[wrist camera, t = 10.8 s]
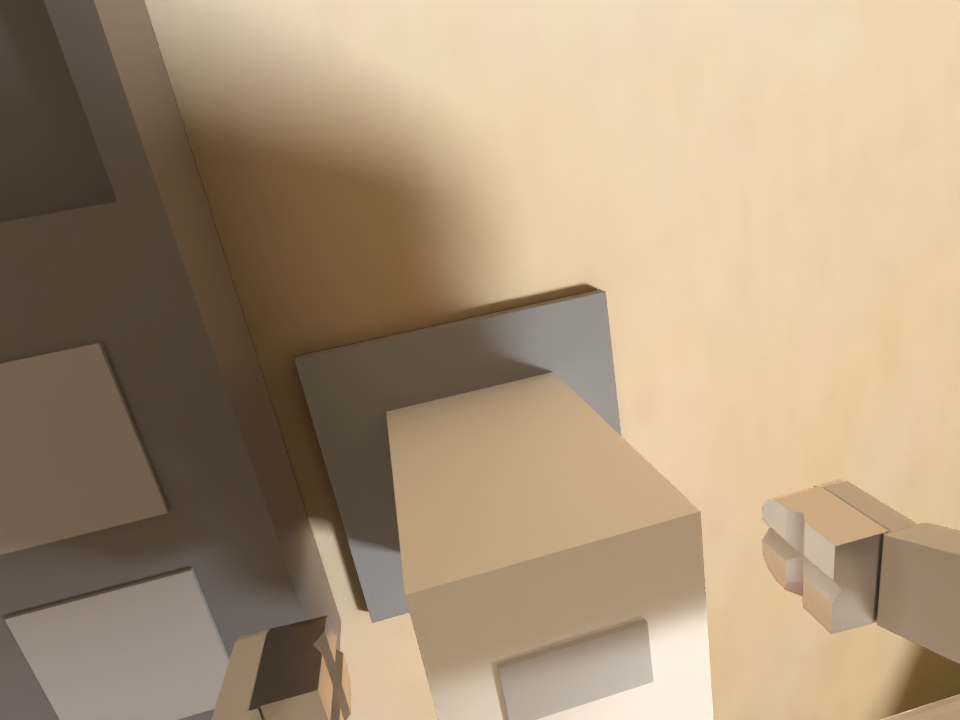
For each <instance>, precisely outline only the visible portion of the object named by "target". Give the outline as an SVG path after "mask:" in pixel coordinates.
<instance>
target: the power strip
mask: <svg viewBox="0 0 960 720" xmlns="http://www.w3.org/2000/svg"><path fill="white" fill-rule="evenodd" d="M326 615H329V616H330V617H331V618H332V620H333V623H334V626H335V629H336V632H337V640H336V649H337V650H339V651H340V632H341V620H340V617H339V614H338V611H337V608H336V605H335V602H334V598H333V595H332V592H331V589H330V586H329V583H328V579H327V576H326V573H325V570H324V567H323V564H322V561H321V557H320V554H319V551H318V548H317V545H316V542H315V538H314V535H313V532H312V529H311V526H310V523H309V520H308V516H307V513H306V510H305V507H304V504H303V501H302V497H301V494H300V491H299V488H298V485H297V482H296V479H295V475H294V472H293V469H292V466H291V463H290V460H289V456H288V453H287V450H286V447H285V444H284V441H283V437H282V434H281V431H280V428H279V425H278V422H277V419H276V415H275V412H274V409H273V406H272V403H271V400H270V396H269V393H268V390H267V387H266V384H265V381H264V378H263V374H262V371H261V368H260V365H259V362H258V359H257V355H256V352H255V349H254V346H253V343H252V340H251V337H250V333H249V330H248V327H247V324H246V321H245V318H244V314H243V311H242V308H241V305H240V302H239V299H238V296H237V292H236V289H235V286H234V283H233V280H232V277H231V273H230V270H229V267H228V264H227V261H226V258H225V255H224V251H223V248H222V245H221V242H220V239H219V236H218V232H217V229H216V226H215V223H214V220H213V217H212V214H211V210H210V207H209V204H208V201H207V198H206V195H205V191H204V188H203V185H202V182H201V179H200V176H199V173H198V169H197V166H196V163H195V160H194V157H193V154H192V150H191V147H190V144H189V141H188V138H187V135H186V132H185V128H184V125H183V122H182V119H181V116H180V113H179V109H178V106H177V103H176V100H175V97H174V94H173V90H172V87H171V84H170V81H169V78H168V75H167V72H166V68H165V65H164V62H163V59H162V56H161V53H160V49H159V46H158V43H157V40H156V37H155V34H154V31H153V27H152V24H151V21H150V18H149V15H148V12H147V8H146V5H145V2H144V0H0V720H211V719H212V716H213V713H214V709H215V706H216V703H217V699H218V696H219V693H220V689H221V686H222V683H223V680H224V676H225V673H226V670H227V666H228V663H229V660H230V657H231V653H232V650H233V647H234V644H235V642H236V641H237V640H238V639H239V638H240V637H241V636H245V635H249V634H253V633H257V632H261V631H265V630H270V629H272V628H276V627H280V626H284V625H288V624H293V623H297V622H301V621H305V620H309V619H314V618H318V617H322V616H326Z"/></svg>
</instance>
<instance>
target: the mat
mask: <svg viewBox="0 0 960 720" xmlns="http://www.w3.org/2000/svg"><path fill="white" fill-rule="evenodd" d="M295 364H296V368H297V371H298V374H299V378H300V381H301V385H302V388H303V391H304V395H305V398H306V401H307V405H308V408H309V412H310V415H311V418H312V422H313V425H314V429H315V432H316V435H317V439H318V442H319V445H320V449H321V452H322V456H323V459H324V462H325V466H326V469H327V473H328V476H329V479H330V483H331V486H332V489H333V493H334V496H335V500H336V503H337V506H338V510H339V513H340V516H341V520H342V523H343V527H344V530H345V533H346V537H347V540H348V544H349V547H350V550H351V554H352V557H353V560H354V564H355V567H356V571H357V574H358V577H359V581H360V584H361V588H362V591H363V594H364V598H365V601H366V604H367V608H368V611H369V615H370V618H371V621H372V623H374V622H377V621H381V620H384V619H388V618H391V617H395V616H398V615H402V614H405V613H409V608H408V605H407V601H406V597H405V591H404V581H403V571H402V561H401V552H400V542H399V532H398V522H397V513H396V503H395V493H394V483H393V474H392V464H391V454H390V444H389V435H388V425H387V415H386V412H387V411H392V410H396V409H400V408H404V407H408V406H412V405H417V404H421V403H425V402H429V401H433V400H438V399H442V398H446V397H450V396H454V395H459V394H463V393H467V392H471V391H475V390H479V389H484V388H488V387H492V386H496V385H500V384H505V383H509V382H513V381H517V380H521V379H525V378H530V377H534V376H538V375H542V374H546V373H551V372H554V373H555V374H556V375H557V376H558V377H559V378H561V379H562V380H563V381H564V382H565V383H566V384H567V385H568V386H569V387H570V388H571V389H572V390H573V391H574V392H575V393H576V394H577V395H578V396H579V397H581V398H582V399H583V400H584V401H585V402H586V403H587V404H588V405H589V406H590V407H591V408H592V409H593V410H594V411H595V412H596V413H597V414H598V415H599V416H601V417H602V418H603V419H604V420H605V421H606V422H607V423H608V424H609V425H610V426H611V427H612V428H613V429H614V430H615V431H616V432H617V433H618V434H619V435H621V430H620V421H619V411H618V402H617V393H616V384H615V374H614V365H613V356H612V347H611V337H610V328H609V319H608V310H607V300H606V292H605V291H602V290H600V289H599V290H594V291H590V292H585V293H581V294H576V295H572V296H567V297H563V298H558V299H554V300H549V301H545V302H540V303H536V304H531V305H527V306H522V307H518V308H513V309H509V310H504V311H499V312H495V313H490V314H486V315H481V316H477V317H472V318H468V319H463V320H459V321H454V322H450V323H445V324H441V325H436V326H432V327H427V328H423V329H418V330H414V331H409V332H405V333H400V334H396V335H391V336H386V337H382V338H377V339H373V340H368V341H364V342H359V343H355V344H350V345H346V346H341V347H337V348H332V349H328V350H323V351H319V352H314V353H310V354H305V355H301V356H296V359H295Z"/></svg>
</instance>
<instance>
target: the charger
mask: <svg viewBox="0 0 960 720" xmlns="http://www.w3.org/2000/svg"><path fill="white" fill-rule="evenodd" d="M386 415H387V425H388V435H389V444H390V454H391V464H392V474H393V483H394V493H395V503H396V513H397V522H398V532H399V542H400V552H401V561H402V571H403V581H404V591H405V597H406V601H407V605H408V608H409V612H410V616H411V619H412V623H413V627H414V631H415V634H416V638H417V642H418V646H419V649H420V653H421V657H422V661H423V664H424V668H425V672H426V676H427V679H428V683H429V687H430V691H431V694H432V698H433V702H434V705H435V709H436V713H437V717H438V720H713V706H712V690H711V674H710V658H709V642H708V626H707V609H706V593H705V577H704V561H703V545H702V529H701V513H700V511H699V510H698V509H697V508H696V507H695V506H694V505H693V504H692V503H691V502H690V501H689V500H688V499H687V498H686V497H685V496H684V495H683V494H682V493H681V492H679V491H678V490H677V489H676V488H675V487H674V486H673V485H672V484H671V483H670V482H669V481H668V480H667V479H666V478H665V477H664V476H663V475H662V474H661V473H659V472H658V471H657V470H656V469H655V468H654V467H653V466H652V465H651V464H650V463H649V462H648V461H647V460H646V459H645V458H644V457H643V456H642V455H641V454H639V453H638V452H637V451H636V450H635V449H634V448H633V447H632V446H631V445H630V444H629V443H628V442H627V441H626V440H625V439H624V438H623V437H622V436H621V435H619V434H618V433H617V432H616V431H615V430H614V429H613V428H612V427H611V426H610V425H609V424H608V423H607V422H606V421H605V420H604V419H603V418H602V417H601V416H599V415H598V414H597V413H596V412H595V411H594V410H593V409H592V408H591V407H590V406H589V405H588V404H587V403H586V402H585V401H584V400H583V399H582V398H581V397H579V396H578V395H577V394H576V393H575V392H574V391H573V390H572V389H571V388H570V387H569V386H568V385H567V384H566V383H565V382H564V381H563V380H562V379H561V378H559V377H558V376H557V375H556V374H555V373H554V372H551V373H546V374H542V375H538V376H534V377H530V378H525V379H521V380H517V381H513V382H509V383H505V384H500V385H496V386H492V387H488V388H484V389H479V390H475V391H471V392H467V393H463V394H459V395H454V396H450V397H446V398H442V399H438V400H433V401H429V402H425V403H421V404H417V405H412V406H408V407H404V408H400V409H396V410H392V411H387V412H386Z"/></svg>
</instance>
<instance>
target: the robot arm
mask: <svg viewBox="0 0 960 720" xmlns="http://www.w3.org/2000/svg"><path fill="white" fill-rule="evenodd" d="M762 520H763V521H764V522H765V523H766V524H767V525H768V526H769V527H770V528H769V529H768V531H767V533H766V534H765V536H764V538H763V539H762V542H763V556H764V558H765V561H766V564H767V566H768V569H769V571H770V572H771V574H772V575H773V577H774V578H775V580H776V581H777V582H778V583H779V584H780V585H781V586H782V587H783V588H784V589H785V590H787V591H790V592H793V593H795V594H798V595H800V596H802V602H803V607H804V608H805V609H806V610H807V611H808V612H809V613H810V614H811V615H812V616H813V617H814V618H815V619H816V620H817V621H818V622H819V623H820V624H821V625H822V626H823V627H824V628H825V629H826V630H827V631H828V632H829V633H830V634H834V633H838V632H841V631H845V630H849V629H853V628H857V627H860V626H864V625H868V624H872V623H875V622H877V625H878V626H880V627H882V628H885V629H887V630H889V631H891V632H893V633H895V634H897V635H899V636H901V637H903V638H906V639H908V640H910V641H912V642H914V643H916V644H918V645H920V646H922V647H925V648H927V649H929V650H931V651H933V652H935V653H937V654H939V655H941V656H943V657H946V658H948V659H950V660H952V661H954V662H956V663H958V664H960V531H959V530H955V529H951V528H947V527H942V526H938V525H934V524H930V523H926V522H925V523H921V524H916V523H915V522H913V521H911V520H910V519H908V518H907V517H905V516H903V515H902V514H900V513H898V512H897V511H895V510H894V509H892V508H890V507H889V506H887V505H885V504H884V503H882V502H881V501H879V500H877V499H876V498H874V497H872V496H871V495H869V494H868V493H866V492H864V491H863V490H861V489H859V488H858V487H856V486H855V485H853V484H851V483H850V482H848V481H844V480H839V479H838V480H835V481H831V482H828V483H824V484H821V485H817V486H814V487H813V488H809V489H806V490H802V491H798V492H794V493H791V494H787V495H783V496H780V497H776V498H772V499H768V500H766V501H765V503H764V505H763V508H762ZM336 640H337V632H336V629H335V626H334V623H333V620H332V618H331V617H330V616H329V615H326V616H322V617H318V618H314V619H309V620H305V621H301V622H297V623H293V624H288V625H284V626H280V627H276V628H272V629H270V630H265V631H261V632H257V633H253V634H249V635H245V636H241V637H240V638H239V639H238V640H237V641H236V642H235V644H234V647H233V650H232V653H231V657H230V660H229V663H228V666H227V670H226V673H225V676H224V680H223V683H222V686H221V689H220V693H219V696H218V699H217V703H216V706H215V709H214V713H213V716H212V719H211V720H347V718H348V717H349V715H350V714H351V691H350V679H349V674H348V669H347V664H346V661H345V658H344V654H343V653H342V652H340V651H339V650H337V649H336ZM880 720H960V694H958V695H955V696H951V697H948V698H945V699H942V700H939V701H936V702H933V703H930V704H927V705H924V706H920V707H917V708H914V709H911V710H908V711H905V712H902V713H899V714H896V715H893V716H889V717H886V718H883V719H880Z"/></svg>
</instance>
